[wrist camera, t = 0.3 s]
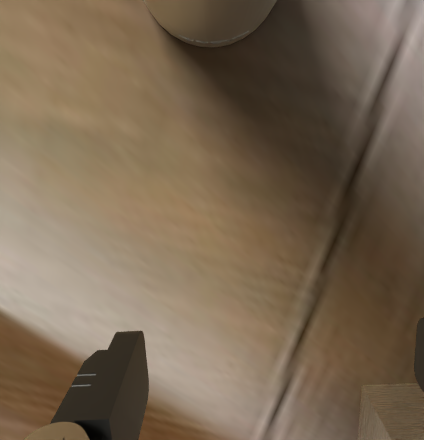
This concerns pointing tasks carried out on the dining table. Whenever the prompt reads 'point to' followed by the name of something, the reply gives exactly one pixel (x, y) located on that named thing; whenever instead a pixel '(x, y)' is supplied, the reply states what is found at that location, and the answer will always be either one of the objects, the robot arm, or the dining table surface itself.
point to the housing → (391, 412)
